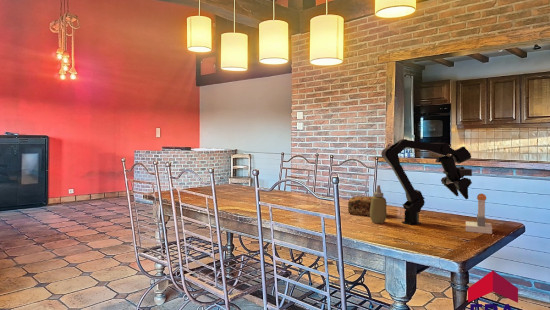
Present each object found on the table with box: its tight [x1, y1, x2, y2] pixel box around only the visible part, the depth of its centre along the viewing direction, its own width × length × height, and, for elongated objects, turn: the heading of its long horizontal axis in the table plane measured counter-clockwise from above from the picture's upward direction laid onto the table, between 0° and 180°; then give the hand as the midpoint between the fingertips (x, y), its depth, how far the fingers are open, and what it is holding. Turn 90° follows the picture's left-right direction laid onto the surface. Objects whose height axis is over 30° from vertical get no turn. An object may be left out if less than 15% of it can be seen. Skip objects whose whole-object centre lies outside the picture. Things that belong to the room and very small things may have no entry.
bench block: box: [465, 213, 493, 235], centre depth 165 cm, size 10×10×6 cm
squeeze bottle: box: [369, 185, 388, 224], centre depth 180 cm, size 8×8×18 cm
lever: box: [476, 193, 487, 218], centre depth 164 cm, size 4×5×14 cm
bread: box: [347, 195, 388, 217], centre depth 200 cm, size 19×11×10 cm, turn 60°
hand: (462, 197), depth 177 cm, fingers open, 9 cm apart
